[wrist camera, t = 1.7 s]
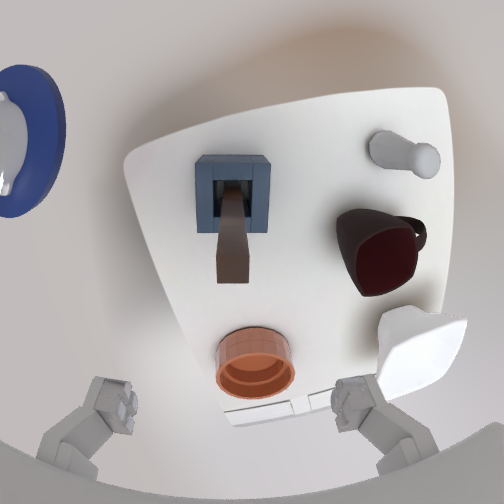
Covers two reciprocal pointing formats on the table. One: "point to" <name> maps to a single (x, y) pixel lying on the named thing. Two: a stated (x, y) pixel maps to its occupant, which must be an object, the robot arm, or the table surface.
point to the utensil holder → (232, 169)
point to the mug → (379, 249)
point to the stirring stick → (232, 237)
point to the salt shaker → (404, 154)
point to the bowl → (415, 348)
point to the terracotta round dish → (254, 364)
